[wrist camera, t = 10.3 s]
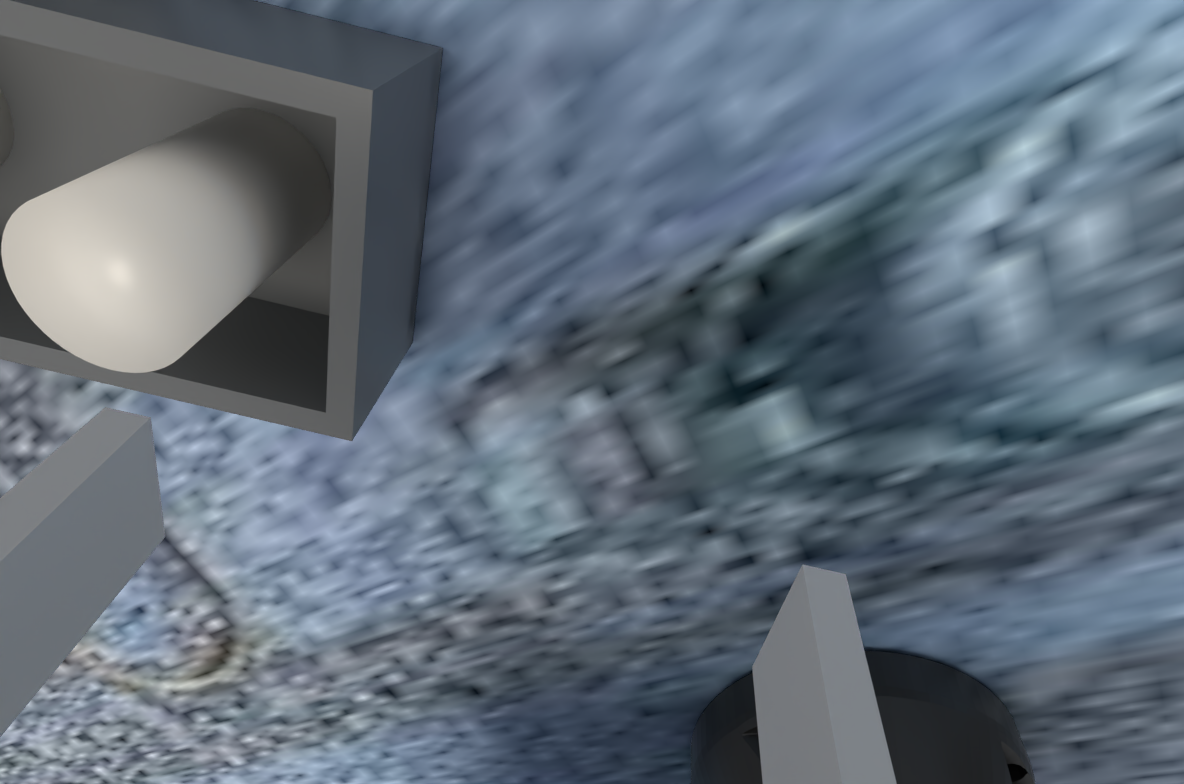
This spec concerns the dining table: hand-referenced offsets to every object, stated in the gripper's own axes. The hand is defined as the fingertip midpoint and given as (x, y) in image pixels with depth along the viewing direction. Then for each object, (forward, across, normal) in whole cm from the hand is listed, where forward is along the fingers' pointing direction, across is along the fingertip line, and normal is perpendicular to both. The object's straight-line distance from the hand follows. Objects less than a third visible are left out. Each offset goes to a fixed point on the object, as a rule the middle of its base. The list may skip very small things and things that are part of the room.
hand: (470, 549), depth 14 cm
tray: (+14, -15, 0) cm, 20 cm away
